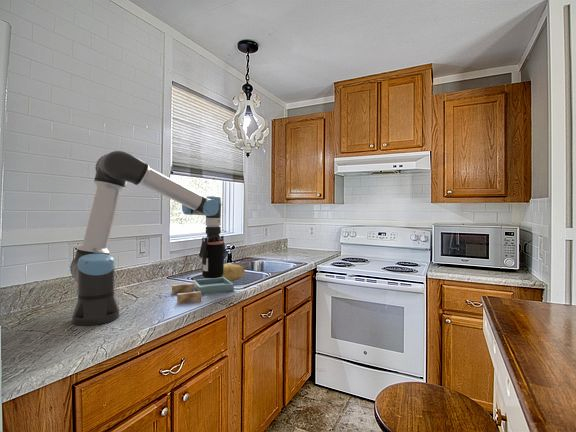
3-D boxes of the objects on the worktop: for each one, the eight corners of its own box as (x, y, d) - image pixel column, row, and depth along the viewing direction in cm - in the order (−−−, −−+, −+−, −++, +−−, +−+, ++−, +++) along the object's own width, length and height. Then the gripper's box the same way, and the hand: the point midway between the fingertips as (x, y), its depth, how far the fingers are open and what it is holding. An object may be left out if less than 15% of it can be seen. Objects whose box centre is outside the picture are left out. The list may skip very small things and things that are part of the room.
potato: (222, 277, 191) (222, 262, 191) (245, 279, 188) (246, 263, 188) (215, 281, 182) (215, 264, 181) (239, 283, 178) (239, 266, 178)
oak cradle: (177, 303, 140) (178, 294, 140) (171, 293, 157) (171, 284, 156) (201, 301, 144) (201, 292, 144) (192, 290, 161) (193, 283, 161)
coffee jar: (220, 273, 173) (220, 240, 173) (226, 277, 164) (226, 242, 163) (200, 275, 168) (200, 240, 168) (205, 279, 159) (205, 243, 158)
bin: (199, 294, 155) (199, 287, 155) (192, 286, 170) (192, 280, 170) (233, 290, 162) (233, 284, 162) (224, 283, 178) (224, 277, 177)
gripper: (203, 227, 153) (202, 273, 154) (233, 225, 174) (232, 266, 174) (191, 227, 157) (191, 272, 157) (222, 224, 177) (221, 264, 178)
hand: (213, 269), depth 166 cm, fingers closed on coffee jar, 11 cm apart
